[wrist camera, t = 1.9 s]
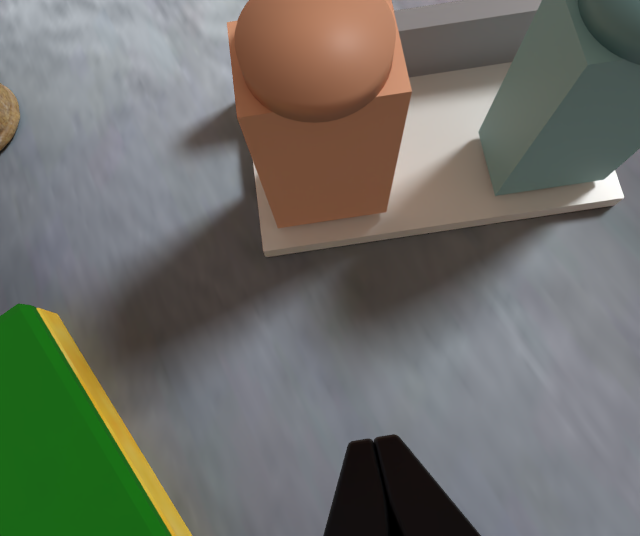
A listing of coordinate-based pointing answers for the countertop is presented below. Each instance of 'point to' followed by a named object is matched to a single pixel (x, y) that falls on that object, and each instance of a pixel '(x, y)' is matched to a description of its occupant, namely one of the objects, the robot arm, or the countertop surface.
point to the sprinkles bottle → (8, 115)
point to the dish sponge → (68, 443)
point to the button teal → (567, 98)
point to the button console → (445, 136)
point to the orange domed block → (321, 104)
